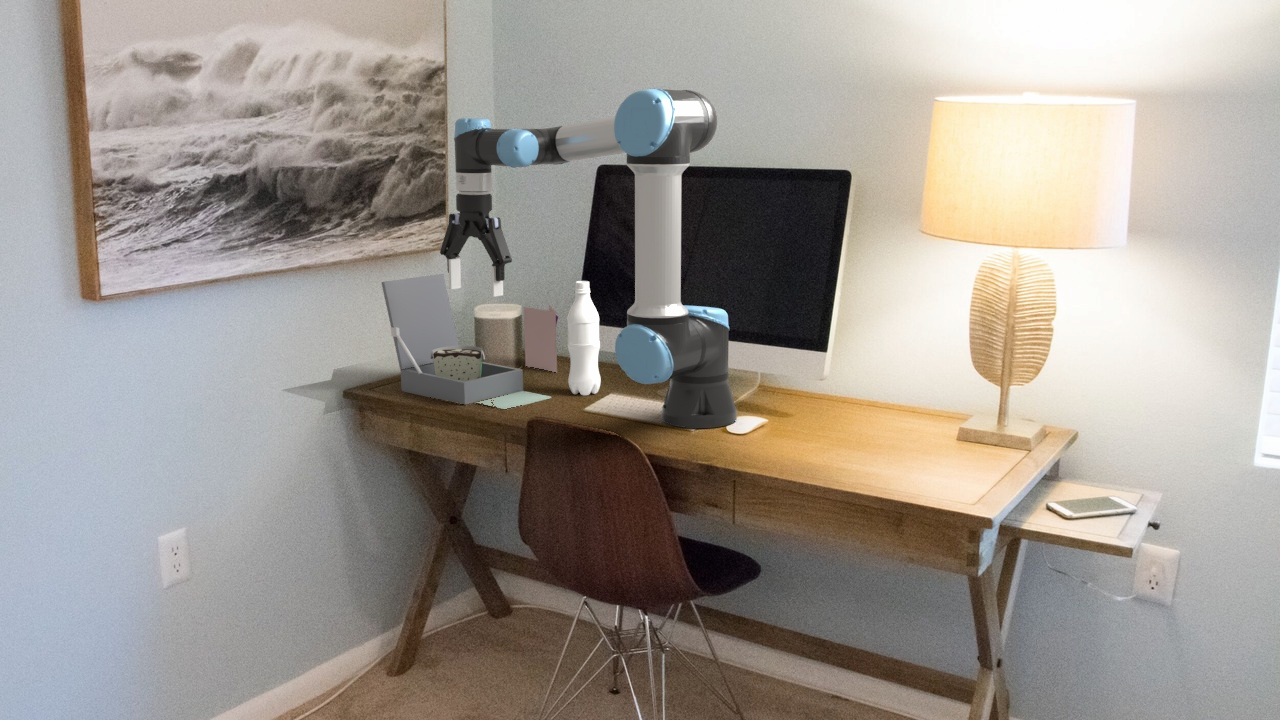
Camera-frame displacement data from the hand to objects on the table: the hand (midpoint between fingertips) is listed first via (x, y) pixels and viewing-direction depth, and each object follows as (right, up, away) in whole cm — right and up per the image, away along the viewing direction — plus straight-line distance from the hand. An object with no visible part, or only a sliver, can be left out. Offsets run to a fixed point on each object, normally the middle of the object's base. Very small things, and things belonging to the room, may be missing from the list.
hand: (475, 292), depth 243 cm
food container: (-5, -22, +12) cm, 25 cm away
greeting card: (+11, -17, +34) cm, 40 cm away
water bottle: (+23, -22, +9) cm, 33 cm away
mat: (+8, -23, +2) cm, 25 cm away
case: (-7, -21, +13) cm, 26 cm away
